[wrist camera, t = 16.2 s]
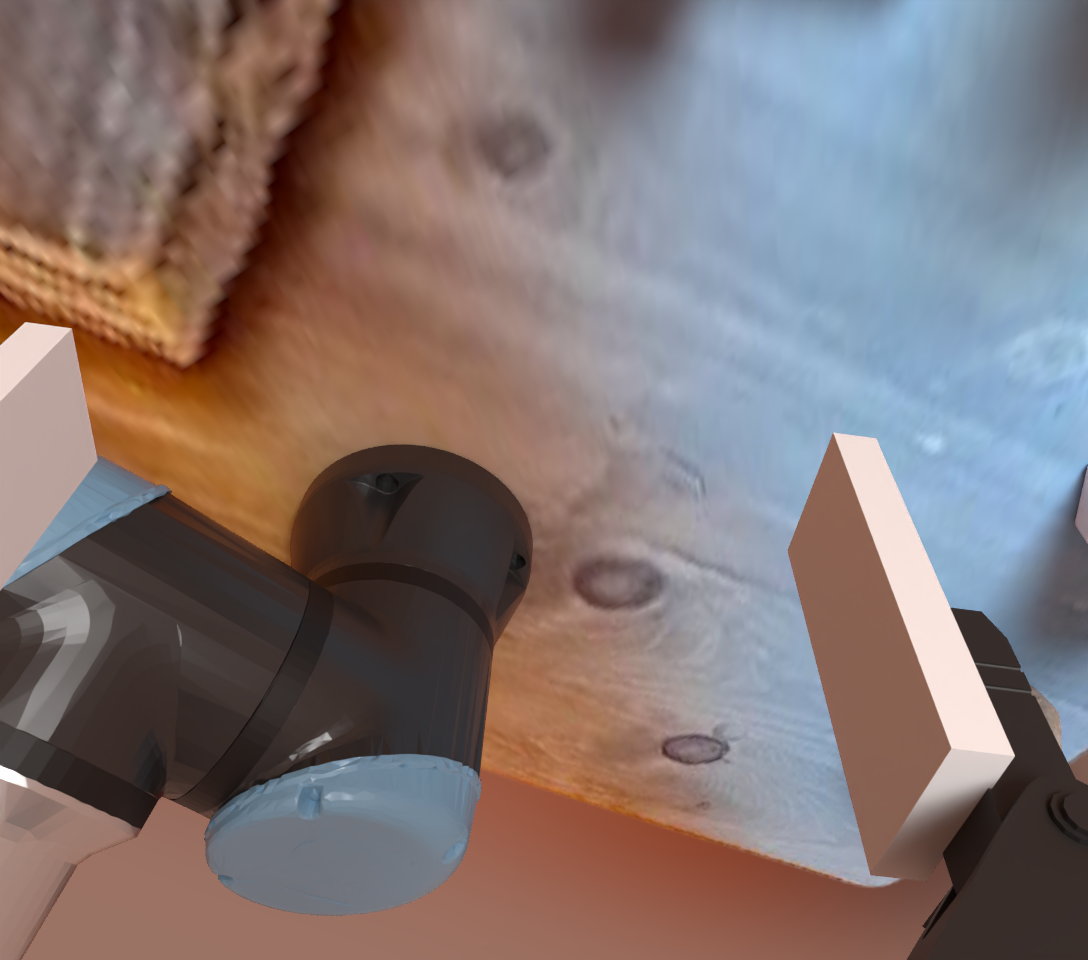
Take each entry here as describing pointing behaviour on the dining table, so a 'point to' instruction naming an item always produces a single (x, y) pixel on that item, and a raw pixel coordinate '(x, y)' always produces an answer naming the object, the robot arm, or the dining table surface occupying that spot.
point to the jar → (1083, 510)
